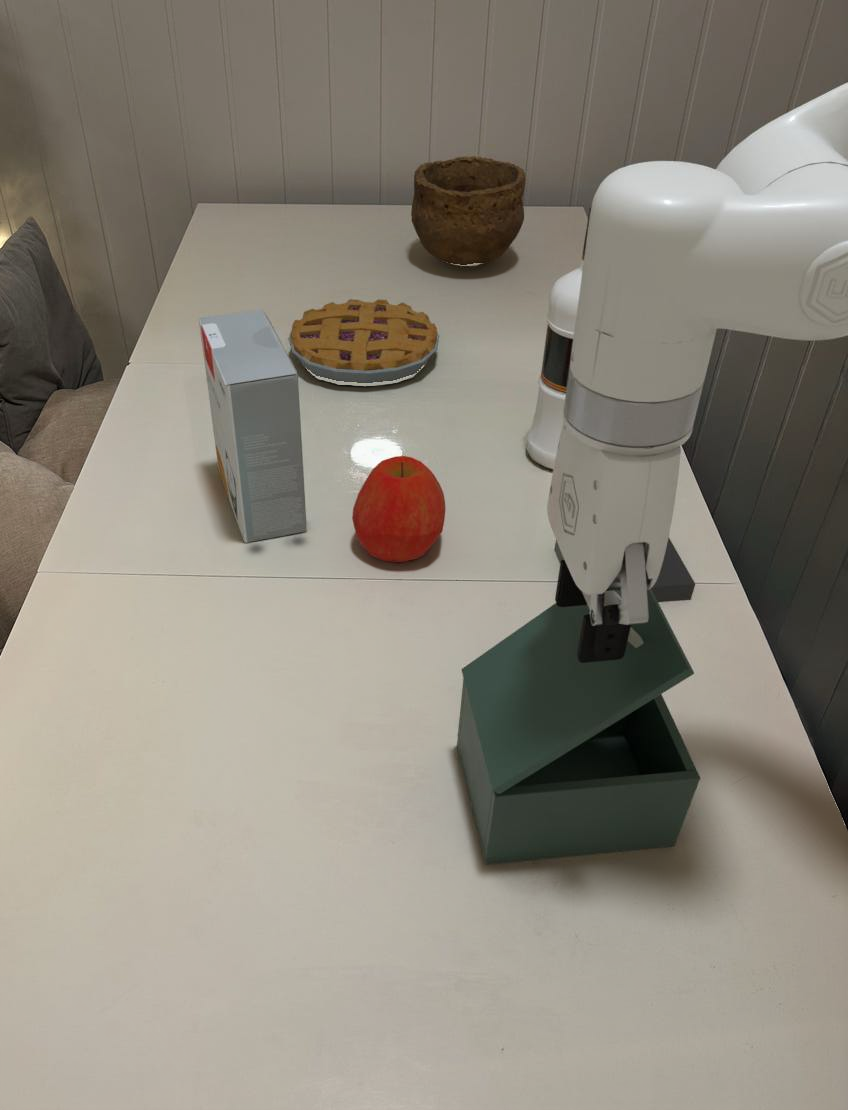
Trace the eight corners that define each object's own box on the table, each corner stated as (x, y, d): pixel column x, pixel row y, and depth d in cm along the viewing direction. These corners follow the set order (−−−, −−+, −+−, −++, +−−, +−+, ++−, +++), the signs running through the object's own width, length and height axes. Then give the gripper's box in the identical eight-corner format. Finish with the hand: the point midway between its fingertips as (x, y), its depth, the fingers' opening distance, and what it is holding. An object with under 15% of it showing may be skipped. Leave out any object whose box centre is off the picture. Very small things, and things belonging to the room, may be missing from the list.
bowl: (393, 274, 161) (394, 180, 151) (432, 236, 173) (435, 147, 163) (499, 292, 155) (508, 196, 145) (531, 251, 168) (541, 161, 158)
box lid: (634, 556, 72) (593, 513, 68) (695, 673, 63) (650, 630, 59) (466, 673, 78) (421, 639, 75) (498, 795, 69) (449, 762, 66)
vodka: (515, 464, 118) (546, 213, 97) (538, 428, 124) (571, 186, 103) (588, 481, 115) (635, 227, 94) (607, 444, 121) (656, 198, 100)
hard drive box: (216, 471, 117) (197, 315, 103) (277, 461, 118) (266, 306, 105) (243, 545, 106) (224, 381, 92) (309, 533, 107) (301, 370, 94)
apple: (455, 565, 103) (462, 484, 96) (363, 578, 101) (362, 496, 94) (431, 511, 110) (435, 432, 103) (344, 523, 109) (342, 443, 102)
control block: (658, 542, 106) (666, 512, 103) (690, 600, 99) (699, 570, 96) (554, 549, 105) (558, 520, 102) (578, 608, 98) (584, 578, 95)
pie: (290, 325, 146) (288, 293, 143) (431, 322, 147) (433, 291, 144) (287, 395, 130) (285, 361, 127) (445, 392, 131) (447, 358, 128)
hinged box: (626, 729, 86) (646, 660, 80) (674, 846, 77) (700, 777, 71) (456, 744, 85) (463, 675, 78) (485, 864, 75) (495, 796, 69)
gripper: (532, 339, 61) (509, 560, 74) (611, 487, 49) (567, 723, 61) (646, 331, 62) (604, 552, 74) (752, 476, 49) (680, 712, 62)
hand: (588, 627), depth 67 cm, fingers closed on box lid, 5 cm apart
